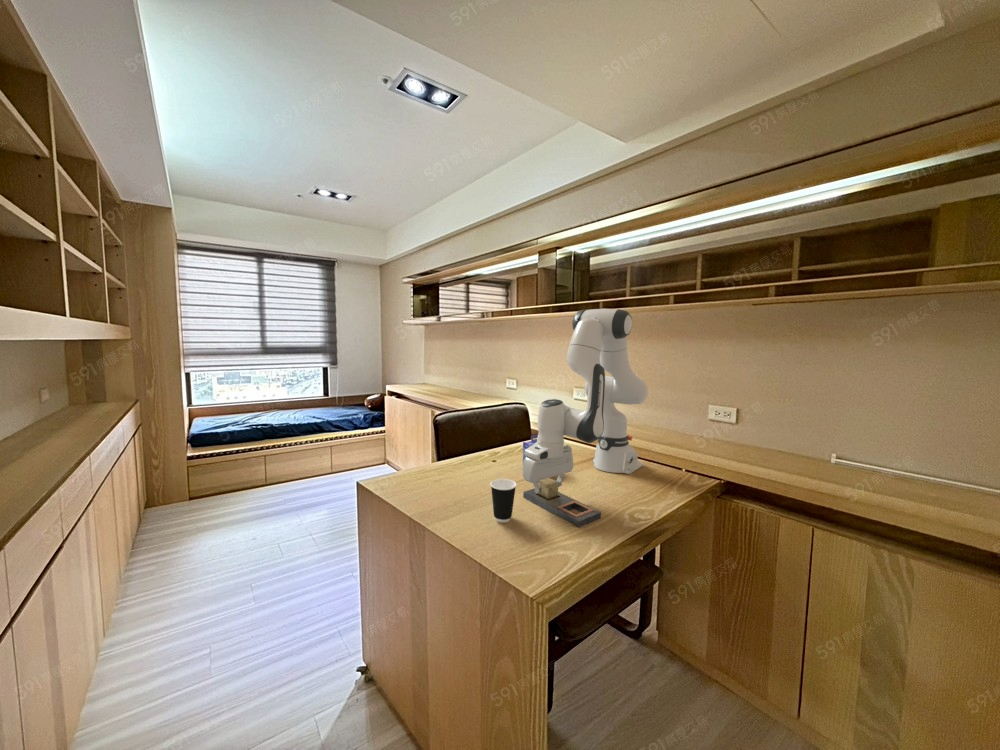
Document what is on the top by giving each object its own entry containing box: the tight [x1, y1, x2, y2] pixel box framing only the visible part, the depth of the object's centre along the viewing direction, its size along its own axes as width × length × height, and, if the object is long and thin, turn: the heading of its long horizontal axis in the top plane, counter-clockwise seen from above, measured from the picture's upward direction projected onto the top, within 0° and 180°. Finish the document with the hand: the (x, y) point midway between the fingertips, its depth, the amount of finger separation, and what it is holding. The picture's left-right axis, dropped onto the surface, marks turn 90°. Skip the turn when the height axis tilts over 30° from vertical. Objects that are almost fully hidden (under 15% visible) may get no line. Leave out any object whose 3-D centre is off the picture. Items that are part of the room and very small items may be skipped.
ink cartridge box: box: [522, 434, 538, 466], centre depth 155 cm, size 10×6×14 cm, turn 116°
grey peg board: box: [522, 488, 602, 529], centre depth 123 cm, size 10×25×2 cm, turn 37°
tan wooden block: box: [538, 477, 559, 501], centre depth 127 cm, size 4×4×7 cm
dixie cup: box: [489, 478, 517, 523], centre depth 114 cm, size 8×8×11 cm
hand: (548, 489), depth 127 cm, fingers open, 8 cm apart
